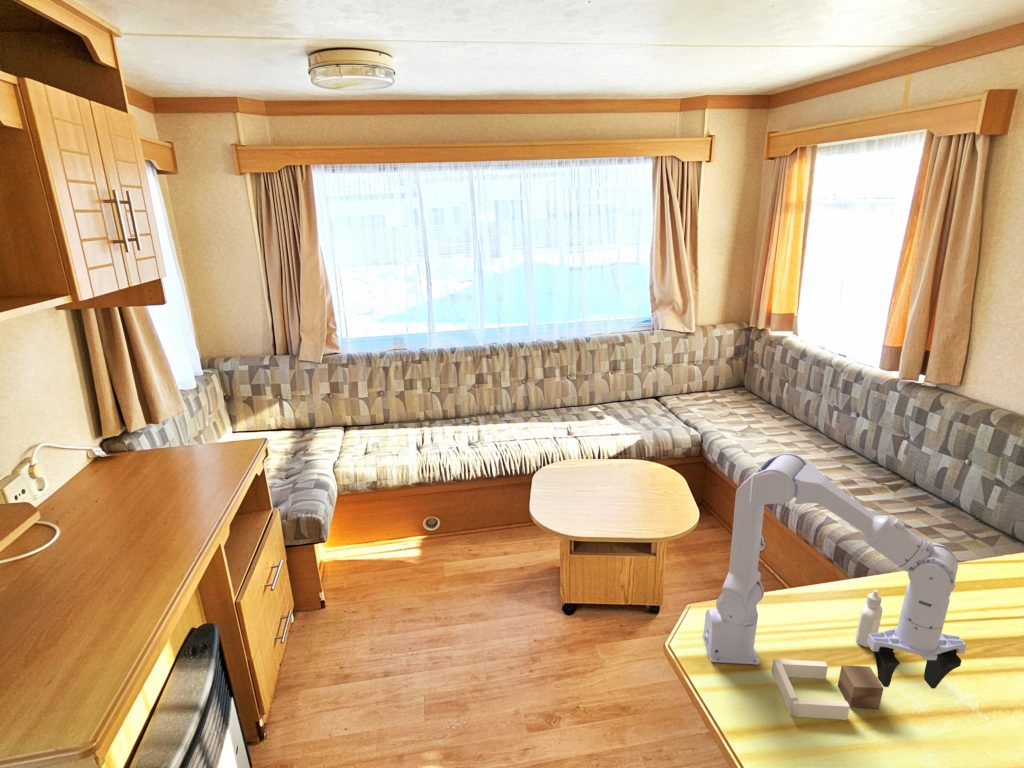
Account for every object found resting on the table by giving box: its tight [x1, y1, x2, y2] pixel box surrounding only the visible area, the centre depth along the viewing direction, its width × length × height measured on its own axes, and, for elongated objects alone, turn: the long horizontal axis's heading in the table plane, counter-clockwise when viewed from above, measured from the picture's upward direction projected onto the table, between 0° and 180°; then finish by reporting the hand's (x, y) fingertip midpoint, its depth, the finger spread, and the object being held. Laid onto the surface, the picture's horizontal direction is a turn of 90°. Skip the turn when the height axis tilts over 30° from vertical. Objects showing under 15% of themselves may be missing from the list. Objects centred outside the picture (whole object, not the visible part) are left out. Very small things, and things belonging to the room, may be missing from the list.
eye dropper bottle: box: [855, 589, 883, 648], centre depth 120 cm, size 4×6×12 cm
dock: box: [771, 658, 851, 721], centre depth 109 cm, size 10×10×3 cm
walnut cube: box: [837, 664, 885, 711], centre depth 108 cm, size 5×5×5 cm
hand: (906, 683), depth 99 cm, fingers open, 7 cm apart
